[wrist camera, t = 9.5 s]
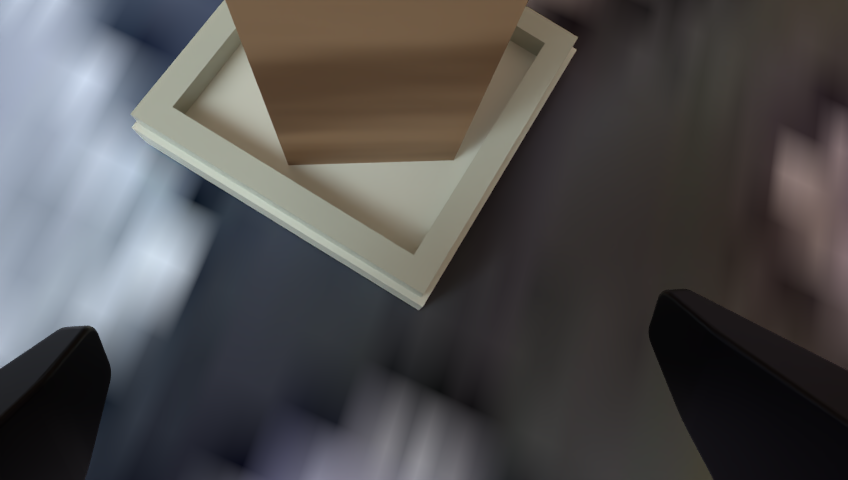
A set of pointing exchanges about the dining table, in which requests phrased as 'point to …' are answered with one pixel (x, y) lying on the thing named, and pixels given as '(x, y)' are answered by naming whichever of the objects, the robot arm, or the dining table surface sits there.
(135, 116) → the cream square tray
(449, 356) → the dining table surface
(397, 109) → the walnut post
